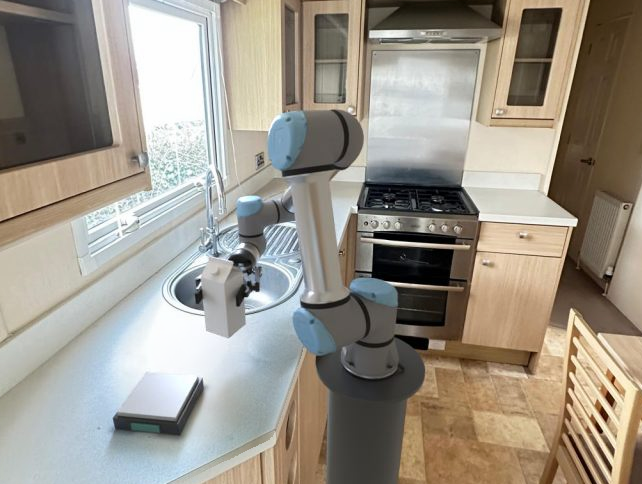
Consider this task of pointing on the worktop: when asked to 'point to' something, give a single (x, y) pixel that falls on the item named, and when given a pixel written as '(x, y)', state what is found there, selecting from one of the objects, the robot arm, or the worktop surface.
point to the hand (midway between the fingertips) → (216, 300)
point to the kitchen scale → (159, 403)
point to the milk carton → (222, 297)
